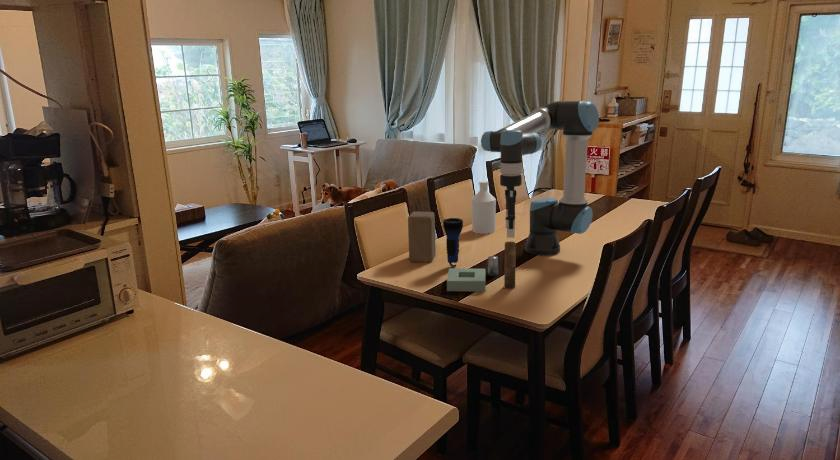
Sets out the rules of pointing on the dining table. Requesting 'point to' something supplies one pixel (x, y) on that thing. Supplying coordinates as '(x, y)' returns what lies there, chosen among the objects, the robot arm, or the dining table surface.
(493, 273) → the short pin
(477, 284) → the collar block
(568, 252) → the dining table surface
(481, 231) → the bottle
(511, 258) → the long pin
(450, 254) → the flashlight
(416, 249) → the wooden block
